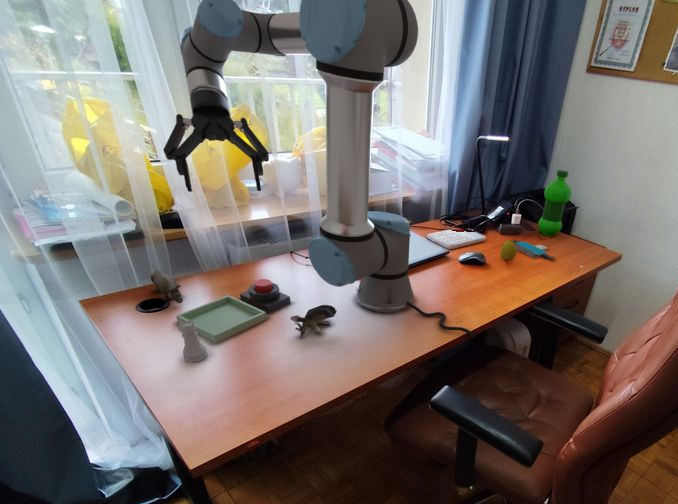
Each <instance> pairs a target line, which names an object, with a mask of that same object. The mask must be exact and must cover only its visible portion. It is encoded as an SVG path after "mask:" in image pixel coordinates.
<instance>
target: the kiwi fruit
mask: <svg viewBox="0 0 678 504" xmlns="http://www.w3.org/2000/svg"><path fill="white" fill-rule="evenodd" d="M517 252H518V250H517V247H516V245H515V243H514V242H513V240H507V241H505V242H504V243H502V245H501V247H500V253H499V254H500V255H499V256H500V258H501V259H502V260H503V261H504V262H505V263H506V264H508V263H509V262H512V261H513V260H514V259H516V256H517Z"/></svg>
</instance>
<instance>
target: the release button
mask: <svg viewBox="0 0 678 504" xmlns="http://www.w3.org/2000/svg"><path fill="white" fill-rule="evenodd" d="M272 283H273V282H272V281H271V279H266V278H259V279H256V280H255V281H254V282H253V284H254V286H255V291H256V292H262V293H263V292H269V291H271V290H272Z"/></svg>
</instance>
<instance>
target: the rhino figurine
mask: <svg viewBox="0 0 678 504" xmlns="http://www.w3.org/2000/svg"><path fill="white" fill-rule="evenodd" d="M150 279H151V282H152V284H153V285H154V287H155V288H154V291H155V292H161V293H162V294H163V297H162V300H163V301H169V300H170V297H171V298H172V299H173V300H174V301H175V302H176V303H178V304H182V303H183V302H184V299H183V297H182V293H181V291H180V289H179V288H181V284H178V283H177V282H176V281H175V279H174V278H173V277H171V276H170V275H169V274H168V272H167V271H165V270H162V269H155V271H153V272H152V273H151V275H150ZM169 296H170V297H169Z"/></svg>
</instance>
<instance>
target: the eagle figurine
mask: <svg viewBox="0 0 678 504" xmlns="http://www.w3.org/2000/svg"><path fill="white" fill-rule="evenodd" d="M337 311H338V310H337V309H336V308H335V307H334V306H332V305H329V304H321V305H318V306H316V307H315V306H314V307H313V308H310V309H308V310H307V312H306V313H305V316H304V317H302V316H300V315H298V314H297V315H293V316H290V320H291V321H292V322H294V325H297V327H295V328H294V329H295V330H297V331H299V332H300V338H302V337H303V336H305V334H306V332H307V330H310V329H311V330H314V331H316V332H317V333H319V334H320V335H322V334H323V333H322V329H321V328H320V327H319V326H318V324H319V325H321V324H323V325H331V323H330V321H328V320H327V319H331V318H335V316H336V314H337Z"/></svg>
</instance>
